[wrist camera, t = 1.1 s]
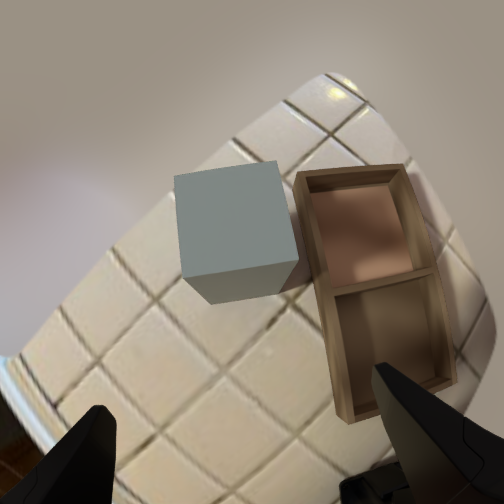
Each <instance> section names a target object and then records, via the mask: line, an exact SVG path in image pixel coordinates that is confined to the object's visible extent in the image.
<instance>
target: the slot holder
mask: <svg viewBox="0 0 504 504" xmlns="http://www.w3.org/2000/svg"><path fill="white" fill-rule="evenodd" d="M292 192H293V196H294V200H295V204H296V208H297V212H298V216H299V221H300V225H301V229H302V234H303V238H304V242H305V247H306V251H307V256H308V261H309V265H310V270H311V275H312V280H313V284H314V289H315V294H316V299H317V304H318V309H319V315H320V320H321V325H322V331H323V336H324V342H325V347H326V353H327V359H328V365H329V371H330V377H331V383H332V389H333V396H334V402H335V409H336V415H337V416H338V417H339V418H341V419H342V420H343V421H344V422H346V423H347V424H348V425H349V424H352V423H356V422H359V421H362V420H365V419H369V418H372V417H375V416H378V415H380V411H379V408H378V405H377V401H376V398H375V395H374V392H373V389H372V384H371V379H372V370H373V366H374V365H375V364H378V363H381V362H387V363H389V364H390V365H392V366H393V367H394V368H396V369H397V370H399V371H400V372H402V373H403V374H404V375H406V376H407V377H409V378H410V379H412V380H413V381H415V382H416V383H417V384H419V385H420V386H422V387H423V388H425V389H426V390H428V391H429V392H430V393H432V394H434V393H436V392H439V391H441V390H443V389H445V388H447V387H449V386H451V385H454V384H456V383H457V373H456V364H455V356H454V348H453V341H452V335H451V328H450V323H449V317H448V312H447V307H446V302H445V297H444V292H443V288H442V284H441V279H440V275H439V271H438V267H437V263H436V260H435V256H434V252H433V249H432V245H431V242H430V239H429V235H428V232H427V229H426V226H425V222H424V219H423V216H422V213H421V210H420V207H419V205H418V202H417V199H416V196H415V193H414V191H413V188H412V185H411V183H410V180H409V178H408V175H407V173H406V170H405V168H404V165H403V164H384V165H368V166H354V167H341V168H330V169H319V170H309V171H300V172H297V174H296V178H295V182H294V185H293V189H292Z"/></svg>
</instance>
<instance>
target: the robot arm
mask: <svg viewBox="0 0 504 504" xmlns="http://www.w3.org/2000/svg"><path fill="white" fill-rule="evenodd" d="M371 384H372V389H373V392H374V395H375V398H376V401H377V405H378V408H379V411H380V415H381V418H382V421H383V424H384V427H385V430H386V432H387V434H388V437H389V439H390V441H391V443H392V446H393V448H394V450H395V453H396V455H397V457H398V460H399V461H398V462H396V463H393V464H392V463H391V464H388V465H385V466H383V467H380V468H377V469H374V470H372V471H369V472H366V473H364V474H363V475H360V476H357V477H354V478H351V479H347V480H344V481H342V482H341V483H340V484H339V491H340V501H341V504H504V439H503V438H501V437H499V436H497V435H495V434H493V433H491V432H489V431H487V430H486V429H484V428H482V427H481V426H479V425H478V424H476V423H474V422H473V421H471V420H470V419H468V418H467V417H464V415H462V414H461V413H459V412H458V411H457V410H455V409H454V408H452V407H451V406H449V405H448V404H446V403H445V402H443V401H442V400H441V399H439V398H438V397H436V396H435V395H433V394H432V393H430V392H429V391H428V390H426V389H425V388H423V387H422V386H420V385H419V384H417V383H416V382H415V381H413V380H412V379H410V378H409V377H407V376H406V375H404V374H403V373H402V372H400V371H399V370H397V369H396V368H394V367H393V366H392V365H390V364H389V363H387V362H381V363H378V364H375V365H374V366H373V370H372V379H371ZM116 429H117V423H116V419H115V418H114V416H113V415H112V414H111V413H110V411H109V410H108V409H107V408H106V407H105V406H104V405H94V406H92V407H91V408H90V409H89V410H88V411H87V412H86V414H85V415H84V416H83V417H82V418H81V419H80V420H79V421H78V422H77V423H76V424H75V425H74V426H73V427H72V428H71V429H70V430H69V431H68V432H67V433H66V434H65V435H64V436H63V438H62V439H61V440H60V441H59V442H58V443H57V444H56V445H55V446H54V447H53V448H52V449H51V450H50V451H49V452H48V453H47V454H46V455H45V456H44V457H43V459H42V460H41V461H40V462H39V463H38V464H37V466H35V467H34V468H33V469H32V470H31V471H30V472H29V473H28V474H27V475H26V476H25V477H24V478H23V479H22V480H21V481H20V482H19V483H18V484H16V485H15V486H14V487H13V488H12V489H11V490H9V491H8V492H7V493H6V494H5V495H4V496H2V497H1V498H0V504H112V492H113V481H114V472H115V462H116ZM346 484H348V486H347V487H344V485H346Z"/></svg>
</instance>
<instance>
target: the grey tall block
mask: <svg viewBox="0 0 504 504" xmlns="http://www.w3.org/2000/svg"><path fill="white" fill-rule="evenodd" d="M174 186H175V201H176V214H177V226H178V238H179V248H180V258H181V267H182V276H183V279H184V280H185V281H186V282H187V283H188V284H189V285H191V286H192V287H193V288H194V289H195V290H196V291H197V292H198V293H199V294H200V295H201V296H202V297H203V298H204V299H205V300H206V301H207V302H209V303H210V304H211V305H213V304H219V303H226V302H232V301H239V300H245V299H251V298H257V297H263V296H269V295H275V294H278V293H279V291H280V290H281V288H282V287H283V285H284V283H285V282H286V280H287V278H288V277H289V275H290V274H291V272H292V270H293V269H294V267H295V266H296V264H297V262H298V261H299V256H298V252H297V247H296V242H295V238H294V233H293V229H292V224H291V220H290V215H289V211H288V206H287V202H286V198H285V194H284V189H283V185H282V181H281V177H280V173H279V169H278V164H277V161H269V162H261V163H253V164H245V165H238V166H231V167H224V168H218V169H212V170H206V171H200V172H194V173H188V174H182V175H177V176H174Z"/></svg>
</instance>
